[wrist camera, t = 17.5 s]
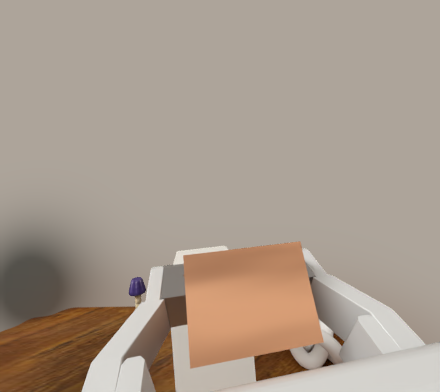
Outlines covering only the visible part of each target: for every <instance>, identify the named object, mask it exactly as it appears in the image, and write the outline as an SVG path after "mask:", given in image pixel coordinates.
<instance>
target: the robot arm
mask: <svg viewBox="0 0 440 392" xmlns="http://www.w3.org/2000/svg"><path fill="white" fill-rule="evenodd" d="M302 251H303V255H304V260H305V264H306V268H307V272H308V277H309V281H310V285H311V290H312V294H313V298H314V302H315V307H316V311H317V315H318V319H319V320H320V321H322V322H323V323H324V324H325V325H326V326H327V327H329V328H330V329H331V330H332V331H333V332H334V333H335V334H337V335H338V336H339V337H340V338H341V339H342V340H344V341H345V342H344V344H343V346H342V348H341V350H340V353H339V355H340V357H341V359H342V361H343V362H344V363H340V364H335V365H330V366H326V367H321V368H316V369H312V370H307V371H303V372H298V373H293V374H289V375H284V376H280V377H275V378H270V379H266V380H261V381H256V382H252V383H247V384H243V385H238V386H233V387H229V388H224V389H219V390H215V391H210V392H440V342H437V343H432V344H428V345H426V344H425V343H424V342H423V341H422V340H421V339H420V338H419V337H418V336H417V335H416V334H415V333H414V332H413V330H411V328H410V327H409V326H408V325H407V324H406V323H405V322H404V321H403V320H402V319H401V318H400V317H399V316H398V315H397V314H396V312H394V311H393V310H392V309H391V308H389V307H388V306H386V305H384V304H382V303H380V302H379V301H377V300H375V299H373V298H372V297H370V296H368V295H366V294H364V293H362V292H361V291H359V290H357V289H355V288H354V287H352V286H350V285H348V284H347V283H345V282H343V281H341V280H339V279H338V278H336V277H334V276H332V275H327V273H326V272H325V271H324V270H323V268H322V267H321V266H320V264H319V263H318V262H317V261H316V259H315V258H314V257H313V256H312V254H311V253H310V252H309V251H308V250H307V249H306V248H303V249H302ZM182 325H187V309H186V293H185V277H184V264H177V265H167V266H159V267H152V269H151V272H150V278H149V284H148V289H147V295H146V301H145V302H142V303H141V304H140V305H139V306H138V307H137V308H136V310H135V311H134V312H133V313H132V314H131V316H130V317H129V318H128V319H127V321H126V322H125V323H124V324H123V325H122V327H121V328H120V329H119V330H118V331H117V333H116V334H115V335H114V336H113V337H112V339H111V340H110V341H109V342H108V343H107V345H106V346H105V347H104V348H103V349H102V351H101V352H100V353H99V354H98V356H97V357H96V358H95V359H94V360H93V362H92V363H91V365H90V368H89V371H88V374H87V377H86V380H85V383H84V386H83V389H82V392H156V391H155V388H154V385H153V382H152V379H151V376H150V374H149V371H148V370H149V368H150V367H151V365H152V363H153V361H154V359H155V357H156V355H157V353H158V352H159V350H160V348H161V346H162V344H163V342H164V340H165V338H166V337H167V335H168V333H169V331H170V328H172V327H177V326H182Z"/></svg>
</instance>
